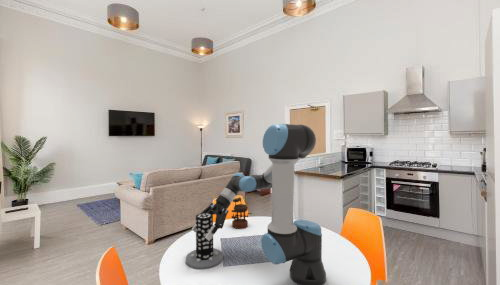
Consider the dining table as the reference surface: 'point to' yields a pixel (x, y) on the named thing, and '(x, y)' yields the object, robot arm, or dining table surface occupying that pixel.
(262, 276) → the dining table surface
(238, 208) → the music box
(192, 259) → the stub plate
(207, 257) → the white-spotted black cylinder
